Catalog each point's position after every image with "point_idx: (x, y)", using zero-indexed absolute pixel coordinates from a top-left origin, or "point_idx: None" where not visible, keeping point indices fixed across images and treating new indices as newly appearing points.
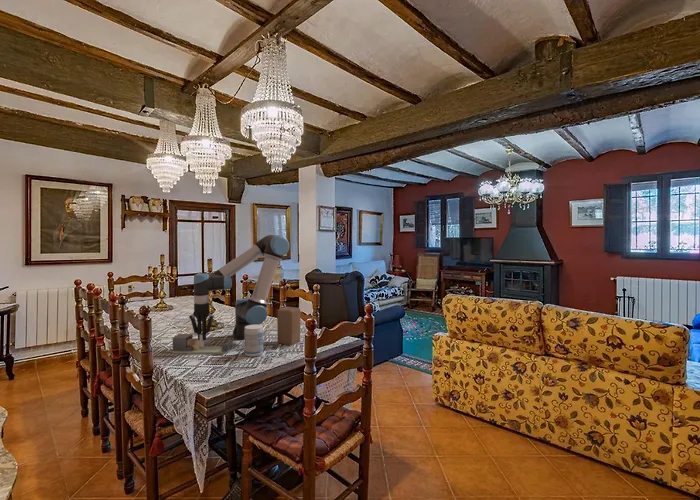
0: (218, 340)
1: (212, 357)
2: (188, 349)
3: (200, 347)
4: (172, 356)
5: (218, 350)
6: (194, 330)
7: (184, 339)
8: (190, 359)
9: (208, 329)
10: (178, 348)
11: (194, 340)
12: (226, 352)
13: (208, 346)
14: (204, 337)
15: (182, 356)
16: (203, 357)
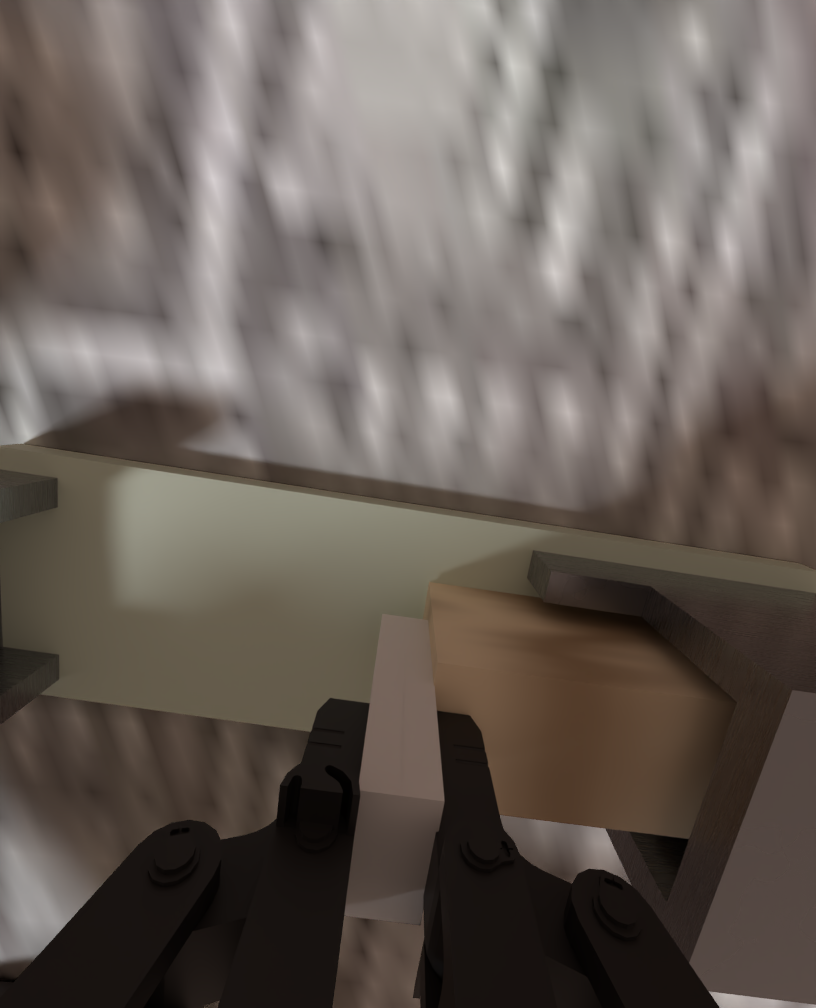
0: None
1: (163, 306)
2: (592, 567)
3: None
4: (773, 429)
5: (129, 534)
6: (681, 1002)
7: (796, 673)
8: (478, 252)
9: (3, 998)
10: (763, 597)
11: (548, 705)
12: None
13: None
14: (321, 745)
15: (628, 411)
16: (302, 324)
